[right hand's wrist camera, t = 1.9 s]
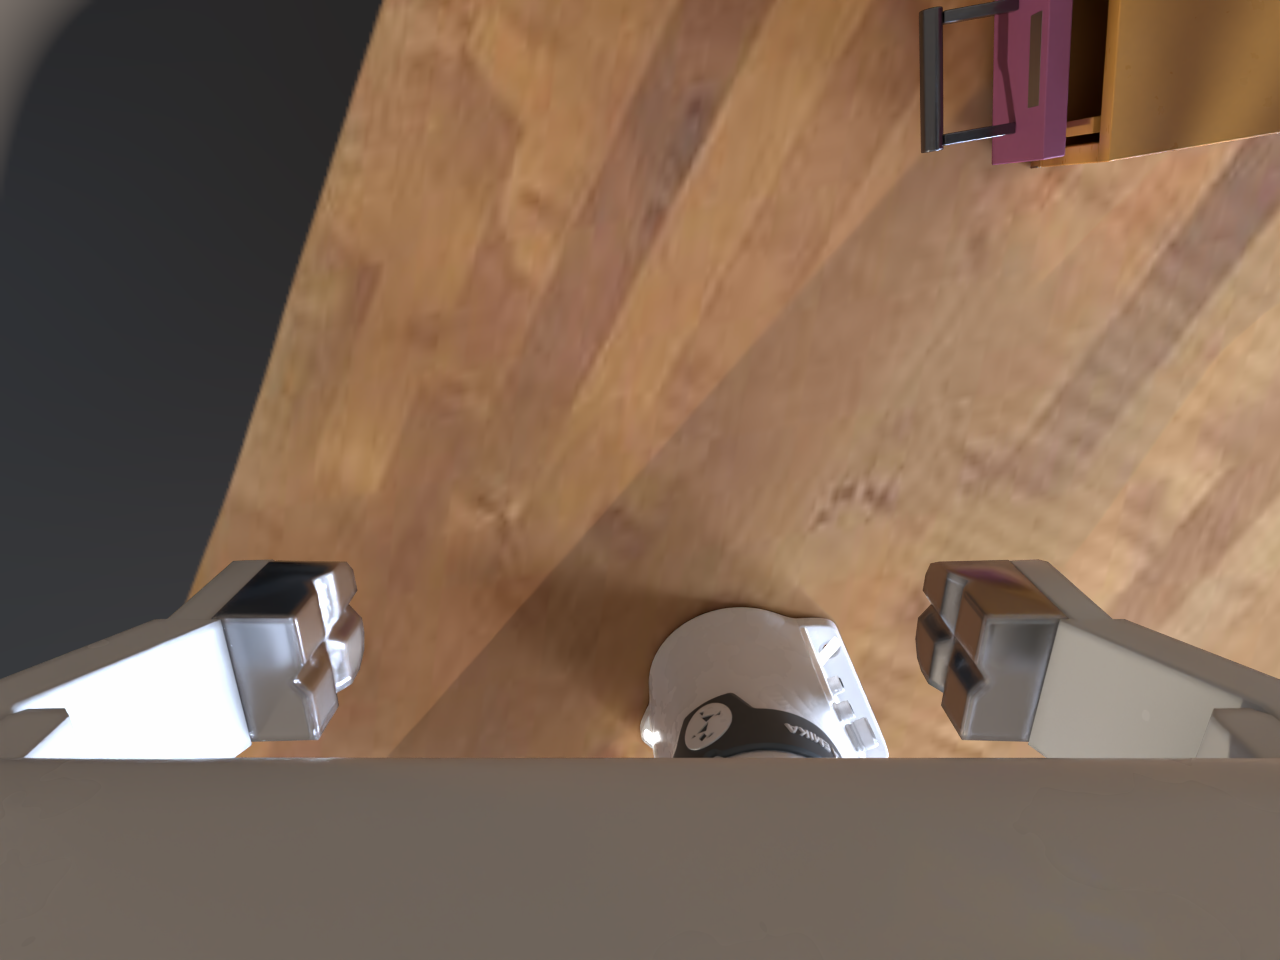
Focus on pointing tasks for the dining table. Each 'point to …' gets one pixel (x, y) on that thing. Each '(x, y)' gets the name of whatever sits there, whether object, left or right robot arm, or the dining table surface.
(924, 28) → the drawer
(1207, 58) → the cabinet
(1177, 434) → the dining table surface
